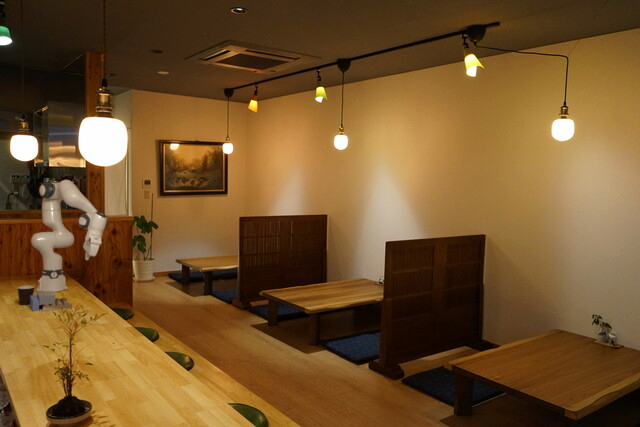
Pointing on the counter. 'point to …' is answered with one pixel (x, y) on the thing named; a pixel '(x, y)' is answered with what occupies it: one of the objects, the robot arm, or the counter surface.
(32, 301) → the stop block
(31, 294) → the coffee mug
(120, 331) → the counter surface
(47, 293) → the slab
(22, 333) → the counter surface
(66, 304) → the roller bed
